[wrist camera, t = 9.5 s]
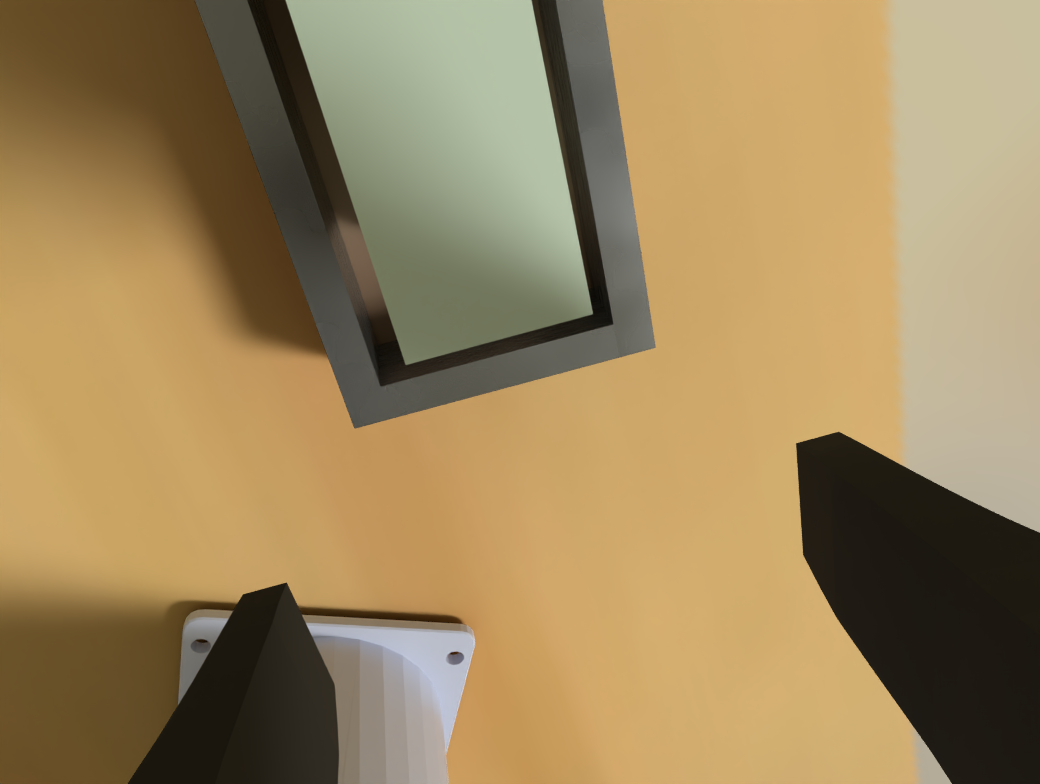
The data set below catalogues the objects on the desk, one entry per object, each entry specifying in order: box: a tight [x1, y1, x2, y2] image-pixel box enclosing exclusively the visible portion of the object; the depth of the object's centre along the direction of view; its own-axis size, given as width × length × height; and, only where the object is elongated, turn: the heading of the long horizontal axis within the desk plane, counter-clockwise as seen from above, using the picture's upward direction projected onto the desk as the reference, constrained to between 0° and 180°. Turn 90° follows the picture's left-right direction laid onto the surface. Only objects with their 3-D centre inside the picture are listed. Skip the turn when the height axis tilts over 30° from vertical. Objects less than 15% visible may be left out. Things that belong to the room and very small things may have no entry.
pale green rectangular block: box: [286, 0, 593, 365], centre depth 14 cm, size 8×3×6 cm, turn 13°
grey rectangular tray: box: [195, 0, 656, 428], centre depth 16 cm, size 14×7×3 cm, turn 13°
